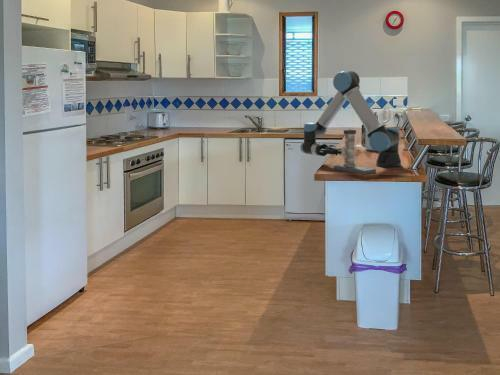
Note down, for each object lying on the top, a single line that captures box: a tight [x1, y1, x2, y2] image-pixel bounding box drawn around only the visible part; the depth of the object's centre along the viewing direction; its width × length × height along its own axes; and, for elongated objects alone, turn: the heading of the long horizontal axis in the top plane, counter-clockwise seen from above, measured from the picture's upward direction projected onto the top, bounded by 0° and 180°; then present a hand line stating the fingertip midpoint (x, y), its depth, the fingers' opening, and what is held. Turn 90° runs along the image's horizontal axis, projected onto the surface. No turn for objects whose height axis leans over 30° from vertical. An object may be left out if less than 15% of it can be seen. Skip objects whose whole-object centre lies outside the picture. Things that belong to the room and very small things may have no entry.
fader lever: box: [342, 129, 357, 167], centre depth 421 cm, size 5×5×21 cm
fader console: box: [333, 164, 377, 175], centre depth 419 cm, size 26×9×2 cm, turn 36°
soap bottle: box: [364, 114, 377, 152], centre depth 518 cm, size 9×9×25 cm
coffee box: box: [361, 124, 366, 147], centre depth 544 cm, size 9×6×16 cm
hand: (346, 153), depth 423 cm, fingers closed
